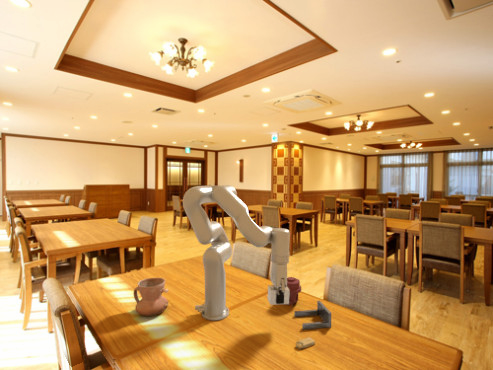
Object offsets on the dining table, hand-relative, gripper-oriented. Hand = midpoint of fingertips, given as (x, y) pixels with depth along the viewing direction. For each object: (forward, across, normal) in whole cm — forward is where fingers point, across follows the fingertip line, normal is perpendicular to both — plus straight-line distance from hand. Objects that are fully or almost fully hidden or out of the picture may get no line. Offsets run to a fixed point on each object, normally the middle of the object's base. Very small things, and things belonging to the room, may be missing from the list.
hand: (278, 299), depth 113 cm
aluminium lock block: (+1, 0, 0) cm, 1 cm away
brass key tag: (+10, +15, +7) cm, 19 cm away
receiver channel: (+10, 0, +15) cm, 18 cm away
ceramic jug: (+14, -20, -56) cm, 61 cm away
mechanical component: (+11, -18, +12) cm, 25 cm away
